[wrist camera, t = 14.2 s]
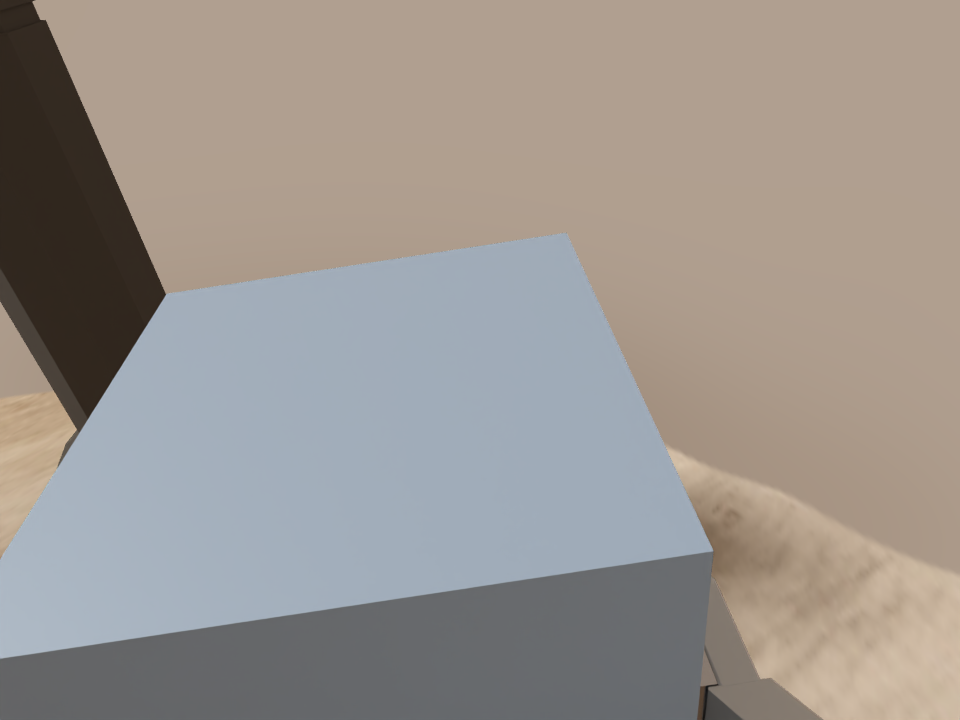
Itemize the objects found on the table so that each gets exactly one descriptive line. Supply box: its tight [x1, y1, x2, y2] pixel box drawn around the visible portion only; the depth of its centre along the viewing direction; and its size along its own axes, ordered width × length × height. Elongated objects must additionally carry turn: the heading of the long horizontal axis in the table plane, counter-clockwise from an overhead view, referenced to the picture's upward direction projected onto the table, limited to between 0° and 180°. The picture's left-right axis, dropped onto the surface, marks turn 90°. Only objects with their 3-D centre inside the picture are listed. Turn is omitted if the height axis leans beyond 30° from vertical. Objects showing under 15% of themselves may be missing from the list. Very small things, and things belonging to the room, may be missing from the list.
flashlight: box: [0, 0, 166, 468], centre depth 26 cm, size 10×25×10 cm
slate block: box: [0, 233, 714, 720], centre depth 10 cm, size 5×5×12 cm
